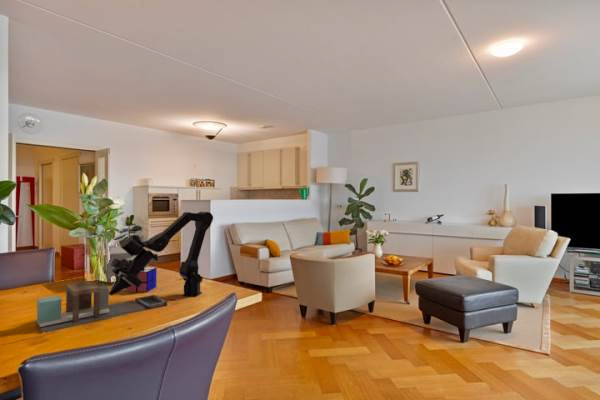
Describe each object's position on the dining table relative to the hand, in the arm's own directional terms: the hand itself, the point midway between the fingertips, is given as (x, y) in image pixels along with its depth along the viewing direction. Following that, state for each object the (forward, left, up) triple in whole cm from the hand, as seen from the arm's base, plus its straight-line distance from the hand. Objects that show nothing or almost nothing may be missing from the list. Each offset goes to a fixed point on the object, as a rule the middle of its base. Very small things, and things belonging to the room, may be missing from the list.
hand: (110, 294), depth 130 cm
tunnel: (+6, +7, -6) cm, 11 cm away
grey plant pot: (+31, -46, -7) cm, 56 cm away
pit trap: (-9, -13, -7) cm, 17 cm away
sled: (+7, +9, -6) cm, 13 cm away
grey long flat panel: (+3, +5, -7) cm, 9 cm away
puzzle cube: (+7, -32, -7) cm, 33 cm away
